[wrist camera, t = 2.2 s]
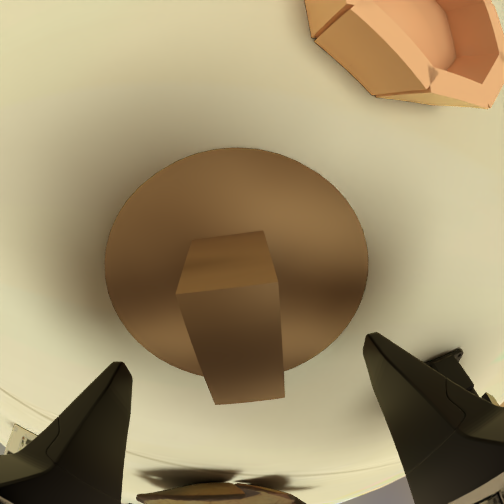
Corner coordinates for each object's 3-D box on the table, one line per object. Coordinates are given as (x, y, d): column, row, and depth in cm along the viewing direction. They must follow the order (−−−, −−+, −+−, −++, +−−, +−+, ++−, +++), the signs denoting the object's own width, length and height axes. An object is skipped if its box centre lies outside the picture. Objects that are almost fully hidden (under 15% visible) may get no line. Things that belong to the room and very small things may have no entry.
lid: (347, 348, 17) (374, 409, 12) (156, 370, 16) (143, 434, 12) (360, 138, 11) (432, 153, 6) (84, 177, 11) (15, 213, 6)
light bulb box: (14, 422, 23) (-3, 468, 14) (43, 437, 24) (28, 488, 15) (37, 446, 28) (25, 487, 18) (64, 459, 29) (54, 502, 19)
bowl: (464, 112, 10) (517, 120, 6) (319, 94, 10) (360, 81, 6) (436, -18, 6) (476, -34, 2) (290, -56, 6) (309, -100, 2)
